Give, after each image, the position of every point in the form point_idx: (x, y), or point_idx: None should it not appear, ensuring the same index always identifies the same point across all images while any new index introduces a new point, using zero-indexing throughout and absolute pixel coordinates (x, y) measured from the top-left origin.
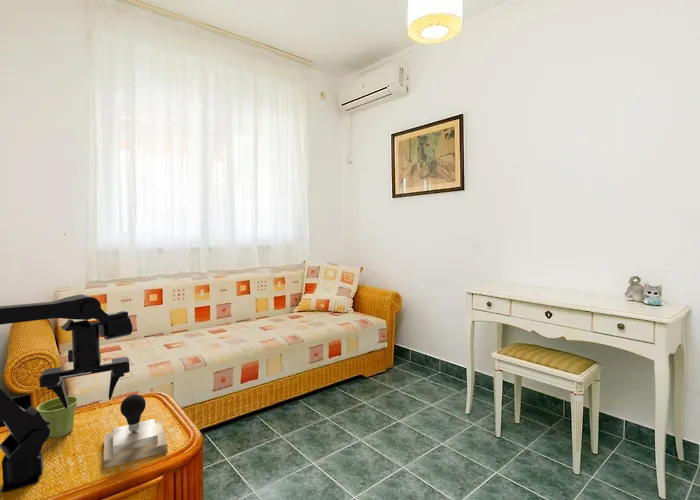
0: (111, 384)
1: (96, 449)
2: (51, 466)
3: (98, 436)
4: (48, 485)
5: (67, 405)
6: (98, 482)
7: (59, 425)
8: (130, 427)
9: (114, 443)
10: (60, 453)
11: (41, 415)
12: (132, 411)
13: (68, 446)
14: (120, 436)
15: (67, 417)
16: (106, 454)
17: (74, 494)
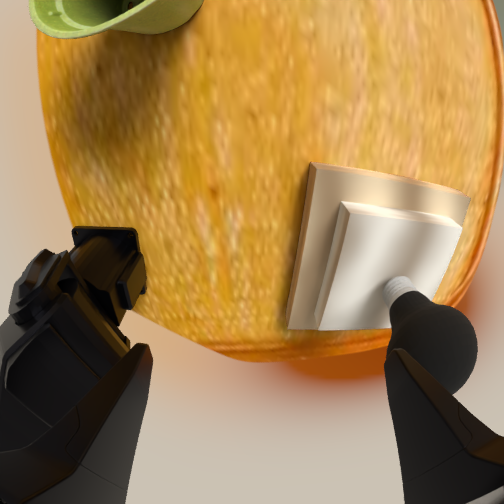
0: (407, 475)
1: (280, 202)
2: (158, 230)
3: (294, 103)
4: (172, 309)
5: (148, 373)
6: (268, 347)
7: (143, 28)
8: (388, 306)
9: (326, 318)
10: (171, 161)
11: (54, 342)
12: None
13: (192, 121)
14: (353, 288)
15: (168, 9)
16: (299, 306)
17: (227, 356)
